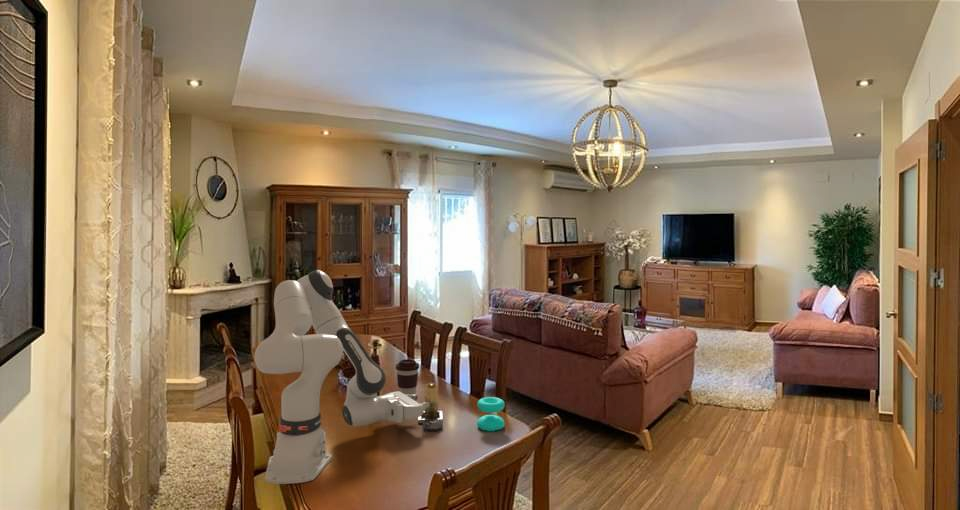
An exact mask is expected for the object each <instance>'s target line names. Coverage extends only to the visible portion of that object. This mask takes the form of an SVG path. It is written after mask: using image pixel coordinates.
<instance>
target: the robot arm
mask: <svg viewBox="0 0 960 510" xmlns="http://www.w3.org/2000/svg"><path fill="white" fill-rule="evenodd" d="M333 292H334V284H333V282H332V279H331V278H330V276H329V275H328V274H327V273H326V272H325V271H323V270H320V269H315V270H313V271H310V272H309V273H308V274H306V275H304V276H302V277H300V278H299V279H297V280H294V279H292V280H291V279H286V280H283V281H282V282H280V283H278V285H277V287H275V289H274V295H273V296H274V297H273V301H272V302H273V309H274V315H275V328H274V329H273V332H272V333H271V334H270V335H269V336H268V337H266V338H265V339H264V340H262V341H260V343H259V344H257V346H256V348H255V351H254V356H253V358H254V363H255V366H256V367H257V369H258V370H259V371H260V372H261V373H263V374H270V375H283V374H292V373H299V372H301V374H300V376H299V377H298V378H297V379H296V380H295V381H293V382H291V383H289V384H288V385H287V386H286V387H285V388H284V389H283V390H282V392H281V416H280V418H279V423H278V424H279V426H278V432H277V433H276V440H275V446H274V449H273V450H272V454H273V455H272V456H270V457H269V459H268V462H267V467H266V471H265V476H264V482H266V483H269V484H275V485H289V484H290V485H291V484H301V483H307V482H310V481H314V480H315V479H316V478H317V476H318V475H319V474H320V473H321V472H322V471H323V470H324V469H325V467H326V466H327V465H328V464H329V463H330V461H332V459H333V455H332V454H331V453H328V452H327V451H328V450H327V449H328V447H327V433H326V431H325V430H324V429H323V428H322V427H321V424H322V417H321V415H322V414H321V412H320V397H321V388H322V386H323V383H324V380H325V379H326V377H327V376H328V374H329V373H330V372H331V371H332V370H333V369H334V368H335V367H336V366H337V365H338V364H340V361H341V360H342V358H343V355H344V353H345V355H346V356H347V358H348V360H349V361H350V362H351V364H352V367H354V369H355V370H354V371H355V375H353V376H352V378H350V380H349V381H348V383H347V385H346V397H345V401H344V403H343V405H342V407H341V413H342V418H343V420H344V422H345V423H346V424H347V425H348V426H351V427H360V426H366V425H371V424H374V423H376V422H385V421H387V422H394V423H397V424H398V423H399V424H400V423H403V421H408V420H412V419H418V417H420V416H421V417H423V416H422V415H423V411H424V410H425V408H427V407H429V404H430V403H429V402H427V401H426V402H425V401H423V403H419V402H418V401H417V400H418V395H417V393H416V394H413V395H409V394H403V393H402V392H400V391H399V390H397V391H392V392H391V391H390V392H388V393H385V394H383V395H377V393H378V392H380V391H381V390H382V389H383V388H384V387H385V384H386V377H387V376H386V373H385V372H384V371H385V370H384V369H383V368H382V367H381V366H380V365H379V364H378V363H376V362H375V361H374V360H373V359H372V357H371V356H370V355H369V353H368V352H367V350H366V348H365V347H364V346H363V344H362V343H361V341H360V339H359V337H358V336H357V335H356V334H355V333H354V331H353V330H352V329H351V328H350V327H349V326H348V324H347V322H346V320H345V319H344V317H343V314H342V313H341V311H340V310H339V308H338V307H337V305H336V304H335V303H334V302H333V301H332V299H333ZM311 327H313V329H314V332H315V333H314V334H307V333H308V332H309V331H310V329H311Z"/></svg>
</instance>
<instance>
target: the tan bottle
mask: <svg viewBox="0 0 960 510" xmlns="http://www.w3.org/2000/svg"><path fill="white" fill-rule="evenodd" d="M426 401H427V402H429V403H430V404H429V407H427V408H424V411H425V416H424V417H425V419H428V418H429V419H433V418H434V419H437V417H438V416H439V415H438V411H439V385H438V384H437V383H435V382H429V383H426V384H425V385H424V402H426Z"/></svg>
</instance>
